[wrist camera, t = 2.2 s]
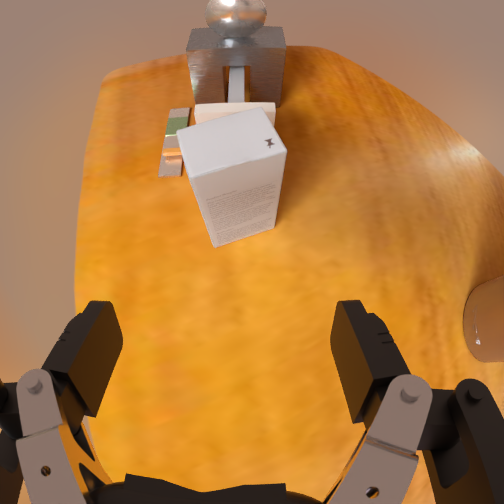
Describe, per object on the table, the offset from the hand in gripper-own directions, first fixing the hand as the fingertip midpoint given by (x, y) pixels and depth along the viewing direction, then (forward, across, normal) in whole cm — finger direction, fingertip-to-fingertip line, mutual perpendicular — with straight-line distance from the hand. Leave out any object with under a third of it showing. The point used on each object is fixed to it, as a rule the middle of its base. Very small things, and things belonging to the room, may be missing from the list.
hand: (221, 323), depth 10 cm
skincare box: (+19, 0, +4) cm, 19 cm away
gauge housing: (+28, +2, -6) cm, 28 cm away
